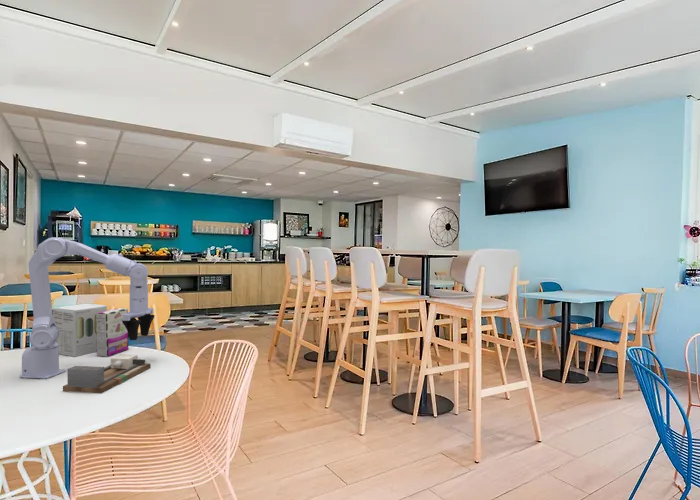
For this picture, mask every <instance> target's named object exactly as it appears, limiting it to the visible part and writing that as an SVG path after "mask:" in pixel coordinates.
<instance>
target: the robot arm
mask: <svg viewBox="0 0 700 500" xmlns="http://www.w3.org/2000/svg"><path fill="white" fill-rule="evenodd" d="M75 255H77V256H81V257H85V258H86V259H89V260H93V261H96V262H98V263H102V264H103V265H104V266H105V269H106V270H109V271H111V272H114V273H116V274H118V275H122V276H124V277H127V276H128V277H129V279H130V280H129V281H130V284H129V311H128V313H126V314H124V315H123V320H122V323H123V324H124V325H125V327H126V329H127V331H128V339H129V340H130V341H137V340H138V335H139V331H140V335H141V336H142V337H147V336H149V333H150V328H151V326H152V325H151V324H152V323H153V320H154V319H155V314H154V308H153V307H149V285H148V281H149V280H148V275H149V271H148V267H147V266H146V265H144V264H143V263H141V262H138V261H137V260H136V259H134V260H132V259H129V258H127V257H124V256H123V254H122V253H118V254H117V253H113V254H109V255H108V254H106V253H104V252H101V250H100V251H99V250H97V249H96V248H92V247H90V246H88V245H86V244H84V243H82V242H77V241H75V240H69V239H66V238H64V237H49V238H47V239H45V240H43V241H42V242H41V243H39V244H38V246H37V248H36V250H35V252H34V253H33V255H32V257H30V259H29V261H28V274H29V283H30V293H31V303H32V313H33V320H32V326H31V330H32V331H31V334H30V336H29V343H30V345H31V346H29V347H27V348H25V349H24V351H23V352H22V355H21V375H19V378H27V379H49V378H52V377H54V376H56V375H57V376H58V375H60V374H62V373H65V372H66V371H67V370H66V369H62V368H61V369H60V354H59V344H58V343H57V341H56V339H57V338H58V336H59V329H58V327H57V326H56V324H55V319H54V317H53V305H52V296H51V284H50V276H49V275H50V273H49V267H50V266H51V265H52V264H54V262H56V260H59V259H60V258H62V257H65V256H75ZM137 262H138V263H137Z"/></svg>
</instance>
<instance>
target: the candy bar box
mask: <svg viewBox="0 0 700 500" xmlns="http://www.w3.org/2000/svg"><path fill="white" fill-rule="evenodd" d="M128 312H129V309H128V308H124V307H122V308H121V307H118V308H113V309H112V308H111V309H107V311H103V312H99V313H96V326H97V327H96V328H97V357H102V358H105V357H106V358H109V357H112V356H115V355H118V354H120V353H122V352H126V351H128V350H129V335H128V331H127V329H126V327H125V325H124V324H123V323H122V320H123V315H124V314H126V313H128Z"/></svg>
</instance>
